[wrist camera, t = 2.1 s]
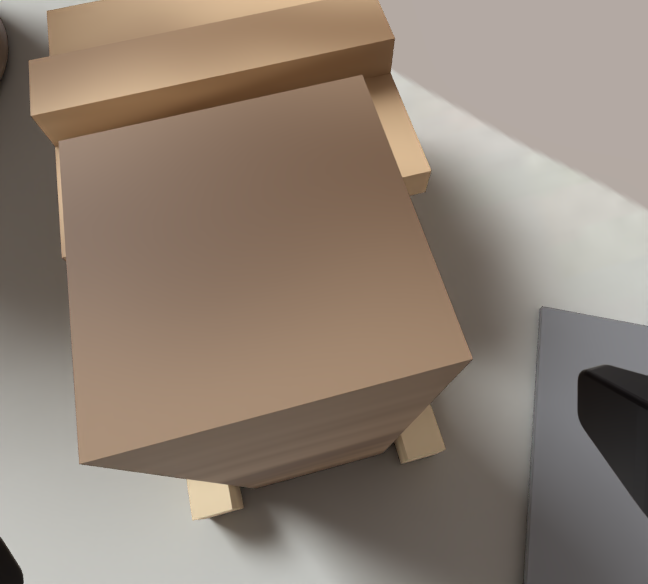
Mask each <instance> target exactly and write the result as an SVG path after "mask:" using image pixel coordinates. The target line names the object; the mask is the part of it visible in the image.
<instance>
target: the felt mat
mask: <svg viewBox="0 0 648 584" xmlns="http://www.w3.org/2000/svg"><path fill="white" fill-rule="evenodd" d="M602 364H608V365H612V366H615V367H619V368H623V369H626V370H630V371H634V372H637V373H641V374H644V375H648V326H645V325H640V324H634V323H629V322H623V321H618V320H613V319H607V318H602V317H597V316H591V315H586V314H581V313H575V312H570V311H565V310H559V309H554V308H549V307H543V306H542V307H541V308H540V312H539V329H538V346H537V363H536V381H535V398H534V415H533V432H532V450H531V467H530V484H529V501H528V519H527V536H526V553H525V570H524V584H648V518H647V517H646V515H645V514H644V513H643V512H642V510H641V509H640V508H639V506H638V505H637V504H636V502H635V501H634V500H633V498H632V497H631V495H630V494H629V493H628V491H627V490H626V488H625V487H624V486H623V484H622V483H621V481H620V480H619V479H618V477H617V476H616V474H615V473H614V471H613V470H612V469H611V467H610V466H609V464H608V463H607V462H606V460H605V459H604V457H603V456H602V454H601V453H600V452H599V450H598V449H597V447H596V446H595V445H594V443H593V442H592V440H591V439H590V437H589V436H588V435H587V433H586V432H585V430H584V429H583V427H582V425H581V423H580V421H579V418H578V413H577V380H578V375H579V373H580V372H581V371H582V370H584V369H587V368H591V367H595V366H598V365H602Z"/></svg>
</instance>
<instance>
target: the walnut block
mask: <svg viewBox="0 0 648 584" xmlns="http://www.w3.org/2000/svg"><path fill="white" fill-rule="evenodd" d="M58 142H59V158H60V173H61V189H62V204H63V220H64V235H65V251H66V266H67V282H68V297H69V313H70V328H71V344H72V359H73V375H74V390H75V406H76V421H77V437H78V452H79V464H82V465H89V466H97V467H104V468H111V469H118V470H125V471H132V472H140V473H147V474H154V475H161V476H168V477H175V478H183V479H190V480H197V481H204V482H211V483H218V484H226V485H233V486H240V487H247V488H254V489H256V488H260V487H264V486H267V485H271V484H274V483H278V482H281V481H285V480H289V479H292V478H296V477H299V476H303V475H307V474H310V473H314V472H317V471H321V470H325V469H328V468H332V467H335V466H339V465H343V464H346V463H350V462H353V461H357V460H361V459H364V458H368V457H371V456H375V455H379V454H382V453H383V452H384V451H385V450H386V449H387V448H388V447H389V446H390V445H391V444H392V443H393V442H394V441H395V440H396V439H397V438H398V437H399V436H400V435H401V434H402V433H403V432H404V430H405V429H406V428H407V427H408V426H409V425H410V424H411V423H412V422H413V421H414V420H415V419H416V418H417V417H418V416H419V415H420V414H421V413H422V412H423V411H424V410H425V409H426V407H427V406H428V405H429V404H430V403H431V402H432V401H433V400H434V399H435V398H436V397H437V396H438V395H439V394H440V393H441V392H442V391H443V390H444V389H445V388H446V387H447V385H448V384H449V383H450V382H451V381H452V380H453V379H454V378H455V377H456V376H457V375H458V374H459V373H460V372H461V371H462V370H463V369H464V368H465V367H466V366H467V365H468V364H469V362H470V361H471V360H472V359H473V358H472V355H471V353H470V350H469V347H468V345H467V342H466V340H465V337H464V335H463V332H462V329H461V327H460V324H459V322H458V319H457V317H456V314H455V311H454V309H453V306H452V304H451V301H450V299H449V296H448V293H447V291H446V288H445V286H444V283H443V281H442V278H441V275H440V273H439V270H438V268H437V265H436V263H435V260H434V257H433V255H432V252H431V250H430V247H429V245H428V242H427V239H426V237H425V234H424V232H423V229H422V227H421V224H420V221H419V219H418V216H417V214H416V211H415V209H414V206H413V203H412V201H411V198H410V196H409V193H408V191H407V188H406V185H405V183H404V180H403V178H402V175H401V173H400V170H399V167H398V165H397V162H396V160H395V157H394V155H393V152H392V149H391V147H390V144H389V142H388V139H387V137H386V134H385V131H384V129H383V126H382V124H381V121H380V119H379V116H378V113H377V111H376V108H375V106H374V103H373V101H372V98H371V95H370V93H369V90H368V88H367V85H366V83H365V80H364V77H363V75H359V76H354V77H350V78H345V79H341V80H336V81H331V82H327V83H322V84H318V85H313V86H309V87H304V88H299V89H295V90H290V91H286V92H281V93H276V94H272V95H267V96H263V97H258V98H254V99H249V100H244V101H240V102H235V103H231V104H226V105H222V106H217V107H212V108H208V109H203V110H199V111H194V112H190V113H185V114H180V115H176V116H171V117H167V118H162V119H158V120H153V121H148V122H144V123H139V124H135V125H130V126H125V127H121V128H116V129H112V130H107V131H103V132H98V133H93V134H89V135H84V136H80V137H75V138H71V139H66V140H61V141H58Z"/></svg>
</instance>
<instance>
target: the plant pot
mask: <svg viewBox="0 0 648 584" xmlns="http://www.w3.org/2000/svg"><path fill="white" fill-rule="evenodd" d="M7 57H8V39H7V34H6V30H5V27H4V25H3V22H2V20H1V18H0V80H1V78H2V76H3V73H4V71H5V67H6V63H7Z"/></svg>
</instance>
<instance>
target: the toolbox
mask: <svg viewBox="0 0 648 584" xmlns="http://www.w3.org/2000/svg"><path fill="white" fill-rule="evenodd" d="M47 23H48V40H49V56H48V57H43V58H38V59H33V60H28V61H29V87H30V113H31V117H32V118H33V119H34V121H35V122H36V123H37V125H38V126H39V127H40V128H41V130H42V131H43V132H44V133H45V135H46V136H47V137H48V138H49V140H50V141H51V142H52V143H53V145H54V146H55V154H56V171H57V187H58V203H59V220H60V236H61V253H62V258H63V259H64V260H65V261H66V251H65V235H64V220H63V204H62V189H61V173H60V158H59V142H58V141H61V140H66V139H71V138H75V137H80V136H84V135H89V134H93V133H98V132H103V131H107V130H112V129H116V128H121V127H125V126H130V125H135V124H139V123H144V122H148V121H153V120H158V119H162V118H167V117H171V116H176V115H180V114H185V113H190V112H194V111H199V110H203V109H208V108H212V107H217V106H222V105H226V104H231V103H235V102H240V101H244V100H249V99H254V98H258V97H263V96H267V95H272V94H276V93H281V92H286V91H290V90H295V89H299V88H304V87H309V86H313V85H318V84H322V83H327V82H331V81H336V80H341V79H345V78H350V77H354V76H359V75H363V77H364V80H365V83H366V85H367V88H368V90H369V93H370V95H371V98H372V101H373V103H374V106H375V108H376V111H377V113H378V116H379V119H380V121H381V124H382V126H383V129H384V131H385V134H386V137H387V139H388V142H389V144H390V147H391V149H392V152H393V155H394V157H395V160H396V162H397V165H398V167H399V170H400V173H401V175H402V178H403V180H404V183H405V185H406V188H407V191H408V193H409V196H411V195H415V194H419V193H424V192H425V191H426V188H427V184H428V181H429V177H430V174H431V169H430V166H429V164H428V161H427V159H426V157H425V154H424V152H423V149H422V147H421V145H420V142H419V140H418V138H417V135H416V133H415V130H414V128H413V126H412V123H411V121H410V118H409V116H408V114H407V111H406V109H405V106H404V104H403V102H402V99H401V97H400V95H399V92H398V90H397V87H396V85H395V83H394V80H393V78H392V75H391V65H392V57H393V49H394V41H395V37H394V35H393V33H392V31H391V29H390V26H389V24H388V22H387V19H386V17H385V15H384V13H383V10H382V8H381V6H380V4H379V1H378V0H100V1H95V2H90V3H85V4H80V5H75V6H70V7H64V8H59V9H54V10H49V11H47ZM394 443H395V446H396V449H397V453H398V456H399V459H400V462H401V464H403V463H407V462H411V461H414V460H418V459H421V458H425V457H428V456H432V455H435V454H437V453H439V452H441V451H444V450H446V448H445V445H444V442H443V439H442V436H441V433H440V430H439V427H438V425H437V422H436V419H435V416H434V413H433V410H432V407H431V404H429V405H428V406H427V407H426V409H425V410H424V411H423V412H422V413H421V414H420V415H419V416H418V417H417V418H416V419H415V420H414V421H413V422H412V423H411V424H410V425H409V426H408V427H407V428H406V429H405V430H404V432H403V433H402V434H401V435H400V436H399V437H398V438H397V439H396V440H395V441H394ZM187 486H188V493H189V500H190V507H191V514H192V520H199V519H206V518H211V517H215V516H218V515H222V514H225V513H229V512H232V511H236V510H240V509H243V508H244V506H243V501H242V495H241V490H240V486H233V485H226V484H218V483H211V482H204V481H197V480H190V479H187Z"/></svg>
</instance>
